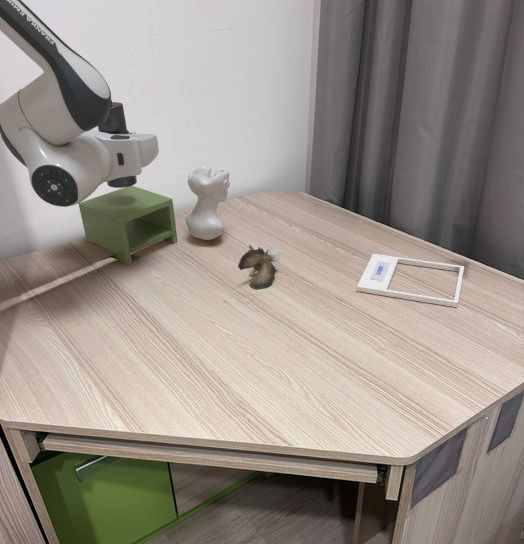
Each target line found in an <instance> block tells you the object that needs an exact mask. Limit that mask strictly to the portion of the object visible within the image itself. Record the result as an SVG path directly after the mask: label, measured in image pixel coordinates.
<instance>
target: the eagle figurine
mask: <svg viewBox="0 0 524 544" xmlns="http://www.w3.org/2000/svg"><path fill="white" fill-rule="evenodd" d="M248 247H249V250H247V252H245V253H244V254H243V255H241V257H240V260H239V261H238V264H237V268H238V269H239V270H240V271H243V270H247V269H250V271H249V274H248V276H249V277H250V276H252V275H254V274H255V275H254V276H253V278H252V280H251V281H250V282H249V283H248V284H249V286H250V288H252V289H253V290H262V289H263V288H264V289H266V288H267V287H269V286H270V285H271V284H272V282H273V281H274V279H275V278H274V276H275V274H276V272H277V270H276V266H274V264H273V263H277V262H278V263H279V261H280V259H281V258H280V257H281V253H280V252H281V251H280V250H279V248H277V247H275V246H270V247H269V248H268V249H267V250H266V251H265V250H264V249H263V248H262V247H259V246H258V247H257V249H254V248H253V246H252V245H251V244H248Z"/></svg>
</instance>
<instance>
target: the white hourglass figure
mask: <svg viewBox="0 0 524 544" xmlns="http://www.w3.org/2000/svg"><path fill="white" fill-rule="evenodd" d="M211 173H212V169H211V168H210V167H208V166H196V167H193V168H192V169H191V171H190V172H189V173H188V176H187V185H188V187H189V189H190V191H191V192H192V193H193V194H194V195H196V197H197V201H196V203H195V206H194V207H193V208H192V210H191V212H190V213H189V214H187V215H186V217H185V224H186V226H187V229H188V231H189V233H190V235H191V236H193V237H194V238H197V239H200V240H204V241H212V240H215V239H216V238H218V237H219V236H221V235H222V233H223V232H224V223H223V222H222V220H221V219H220V217H219V216H218V211H217V210H218V205H219V204H220V203H222V202H225V201H226V200H227V198H228V194H229V192H228V190H229V188H230V185H231V183H230V180H229V179H230V173H229V171H227V170H226V171H224V168H223V167H221V166H219V167H216V168H215V169H214V174H213V176H211Z"/></svg>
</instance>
